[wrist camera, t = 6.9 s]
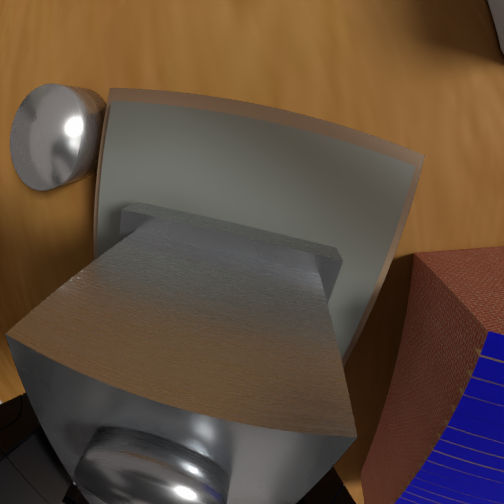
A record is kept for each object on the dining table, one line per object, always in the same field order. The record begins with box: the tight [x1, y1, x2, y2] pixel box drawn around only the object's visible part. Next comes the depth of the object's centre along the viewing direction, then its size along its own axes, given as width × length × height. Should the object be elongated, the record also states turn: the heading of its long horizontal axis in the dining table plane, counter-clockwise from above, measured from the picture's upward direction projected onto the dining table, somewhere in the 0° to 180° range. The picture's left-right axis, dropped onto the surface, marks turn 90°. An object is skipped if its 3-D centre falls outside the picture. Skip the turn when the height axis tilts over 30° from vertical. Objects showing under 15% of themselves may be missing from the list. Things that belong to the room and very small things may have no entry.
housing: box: [5, 202, 357, 504], centre depth 7 cm, size 9×6×7 cm, turn 168°
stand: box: [93, 88, 425, 368], centre depth 12 cm, size 16×11×2 cm
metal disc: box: [10, 84, 107, 191], centre depth 10 cm, size 4×4×2 cm
